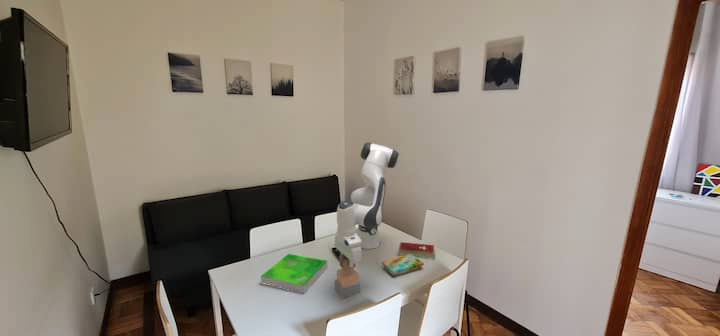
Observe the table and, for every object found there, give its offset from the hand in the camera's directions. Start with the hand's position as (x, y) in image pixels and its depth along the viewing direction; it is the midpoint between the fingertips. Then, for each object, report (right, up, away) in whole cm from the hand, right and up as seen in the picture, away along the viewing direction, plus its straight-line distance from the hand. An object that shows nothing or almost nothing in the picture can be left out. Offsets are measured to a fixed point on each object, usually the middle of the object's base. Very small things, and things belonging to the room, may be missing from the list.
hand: (347, 263), depth 140 cm
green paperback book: (-28, -13, +17) cm, 35 cm away
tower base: (0, -15, +3) cm, 15 cm away
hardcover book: (+41, -7, +41) cm, 58 cm away
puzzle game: (+30, -11, +23) cm, 39 cm away
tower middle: (0, -10, +2) cm, 10 cm away
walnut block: (0, -2, 0) cm, 2 cm away
